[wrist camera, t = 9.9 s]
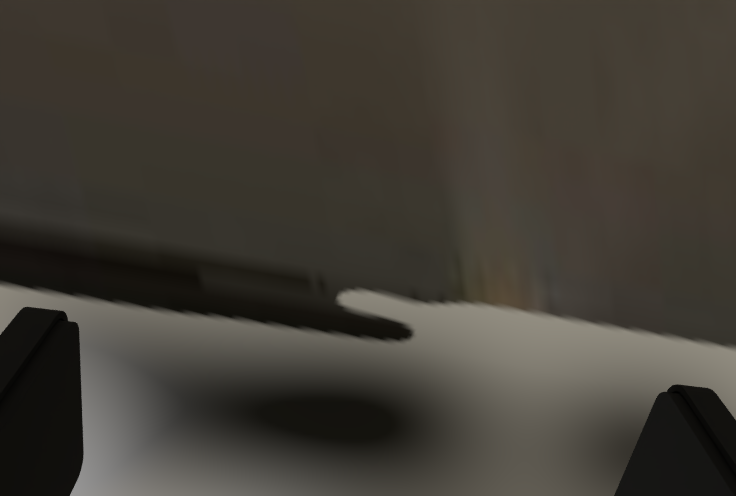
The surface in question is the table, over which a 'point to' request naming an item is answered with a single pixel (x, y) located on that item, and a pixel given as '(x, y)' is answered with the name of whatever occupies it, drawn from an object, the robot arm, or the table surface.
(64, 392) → the robot arm
